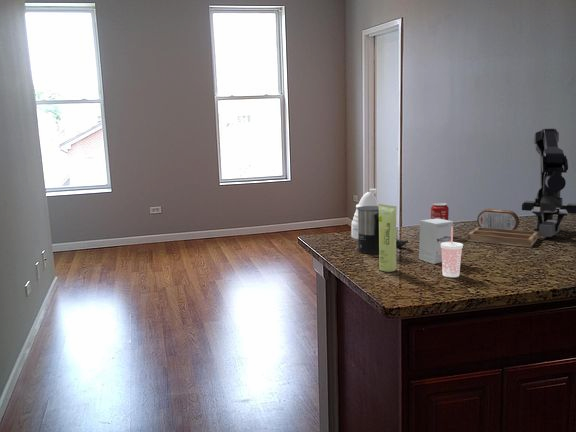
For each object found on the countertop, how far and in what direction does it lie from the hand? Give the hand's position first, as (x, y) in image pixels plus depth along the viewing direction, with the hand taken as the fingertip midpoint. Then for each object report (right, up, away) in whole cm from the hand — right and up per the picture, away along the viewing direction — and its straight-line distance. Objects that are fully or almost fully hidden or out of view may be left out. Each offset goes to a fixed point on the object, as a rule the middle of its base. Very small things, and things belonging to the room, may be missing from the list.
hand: (549, 230), depth 210 cm
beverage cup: (-48, -12, -44) cm, 66 cm away
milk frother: (-62, -6, -13) cm, 64 cm away
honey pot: (-64, -3, +9) cm, 64 cm away
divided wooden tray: (-18, -3, -2) cm, 18 cm away
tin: (-15, -1, +12) cm, 19 cm away
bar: (0, -1, 0) cm, 1 cm away
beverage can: (-38, -2, +7) cm, 39 cm away
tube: (-65, -11, -37) cm, 75 cm away
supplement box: (-48, -9, -28) cm, 56 cm away
